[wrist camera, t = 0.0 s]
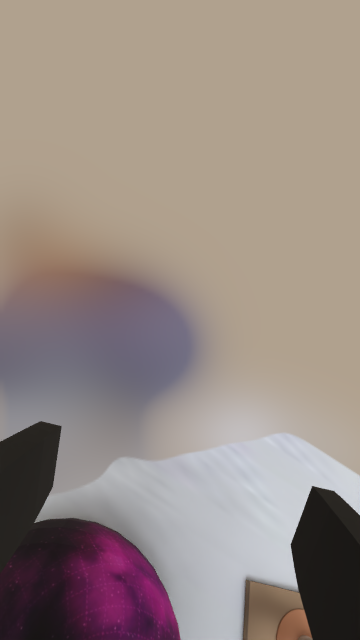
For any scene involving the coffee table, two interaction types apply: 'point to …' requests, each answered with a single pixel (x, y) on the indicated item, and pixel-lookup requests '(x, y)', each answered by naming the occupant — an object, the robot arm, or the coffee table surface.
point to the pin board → (274, 614)
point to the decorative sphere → (82, 587)
